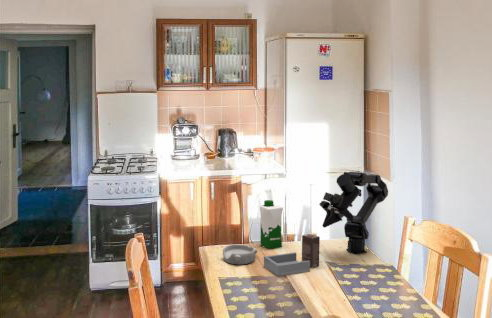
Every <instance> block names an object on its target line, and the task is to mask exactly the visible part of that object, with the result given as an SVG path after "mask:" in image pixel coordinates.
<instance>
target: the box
mask: <svg viewBox="0 0 492 318" xmlns="http://www.w3.org/2000/svg"><path fill="white" fill-rule="evenodd" d="M320 238H321V237H320V236H319V235H315V234H310V233H308V234H307V233H306V234H302V235H301V239H302V240H301V261H308V260H309V261H310V269H313V268H317V267H319V266H320V241H321V240H320Z"/></svg>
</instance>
